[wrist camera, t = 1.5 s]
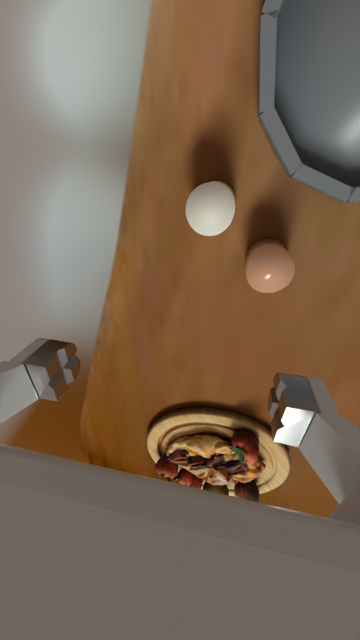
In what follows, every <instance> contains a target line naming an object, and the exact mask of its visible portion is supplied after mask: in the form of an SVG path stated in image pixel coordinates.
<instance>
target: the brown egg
mask: <svg viewBox="0 0 360 640" xmlns="http://www.w3.org/2000/svg"><path fill="white" fill-rule="evenodd" d="M294 272H295V266H294V262H293V260H292V258H291V256H290V255H289V253H288V251H287V250H286V248H285V247H284V245H283V244H282V243H281V242H279V241H278V240H275V239H262V240H259V241H257V242H256V243H254V244H253V245H252V246H251V247H250V248H249V250H248V252H247V254H246V277H247V280H248V283H249V284H250V285H251V287H252V288H254V289H255V290H257V291H259V292H263V293H273V292H277V291H279V290H281V289H283V288H284V287H286V286H287V285H288V284H289V283H290V281H291V280H292V278H293V276H294Z"/></svg>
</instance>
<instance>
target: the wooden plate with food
mask: <svg viewBox="0 0 360 640" xmlns="http://www.w3.org/2000/svg"><path fill="white" fill-rule="evenodd" d="M147 447H148V450H149V453H150V455H151V457H152V458H153V460H154V461H155V463H156V466H155V470H156V473H157V474H160V475H159V476H158V477H161V476H164V477H167V479H168V481H170V482H171V480H170V479H172V480H177V483H179V484H180V485H184V486H189V487H193V488H197V489H202V490H206V491H211V492H215V493H219V494H224V495H228V496H235V497H237V498H241V499H246V500H250V501H255V502H258V500H259V494H261V493H265V492H268V491H270V490H273V489H274V488H276V487H278V486H279V485H281V484H282V483H283V482H284V481H285V479H286V478H287V476H288V474H289V471H290V468H291V462H290V456H289V453H288V451H287V449H286V447H285V445H284V444H282V443H277V442H273V437H272V431H271V430H269V429H268V428H267V427H265V426H264V425H262V424H260V423H259V422H257V421H255V420H253V419H251V418H249V417H246V416H243V415H241V414H238V413H235V412H231V411H227V410H222V409H216V408H206V407H194V408H184V409H179V410H175V411H172V412H169V413H167V414H165V415H163V416H162V417H160V418H159V419H158V420H156V421H155V422H154V424H153V425H152V426H151V428H150V429H149V432H148V436H147Z"/></svg>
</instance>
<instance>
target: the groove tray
mask: <svg viewBox="0 0 360 640" xmlns="http://www.w3.org/2000/svg"><path fill="white" fill-rule="evenodd" d="M258 118H259V122H260V124H261V126H262V128H263V130H264V131H265V133H266V136H267V138H268V141H269V143H270V145H271V148H272V150H273V151H274V153H275V155H276V156H277V158H278V159H279V161H280V163H281V164H282V166H283V168H284V170H285V172H286V174H287V175H289V177H290V178H293V179H295V180H297V181H299V182H301V183H303V184H305V185H307V186H309V187H310V188H312V189H315V190H318V191H320V192H322V193H324V194H326V195H328V196H331V197H333V198H335V199H337V200H339V201H343V202H348V203H350V202H358V201H360V0H265V3H264V6H263V8H262V11H261V17H260V25H259V69H258Z"/></svg>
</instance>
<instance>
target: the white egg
mask: <svg viewBox="0 0 360 640" xmlns="http://www.w3.org/2000/svg"><path fill="white" fill-rule="evenodd" d="M235 207H236V198H235V195H234V192H233V190H232V189H231V188H230V187H229V186H228V185H227V184H225V183H223V182H220V181H212V182H207V183H204V184H201V185H199V186H198V187H196V188H195V189H194V190H193V191H192V193H191V194H190V196H189V198H188V200H187V203H186V217H187V220H188V223H189V224H190V226H191V227H192V228H193V229H194V230H195V231H196V232H197V233H199V234H201V235H205V236H214V235H217V234H220V233H222V232H223V231H224V230H226V229H227V228H228V226H229V225H230V224H231V222H232V220H233V217H234V213H235Z"/></svg>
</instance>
